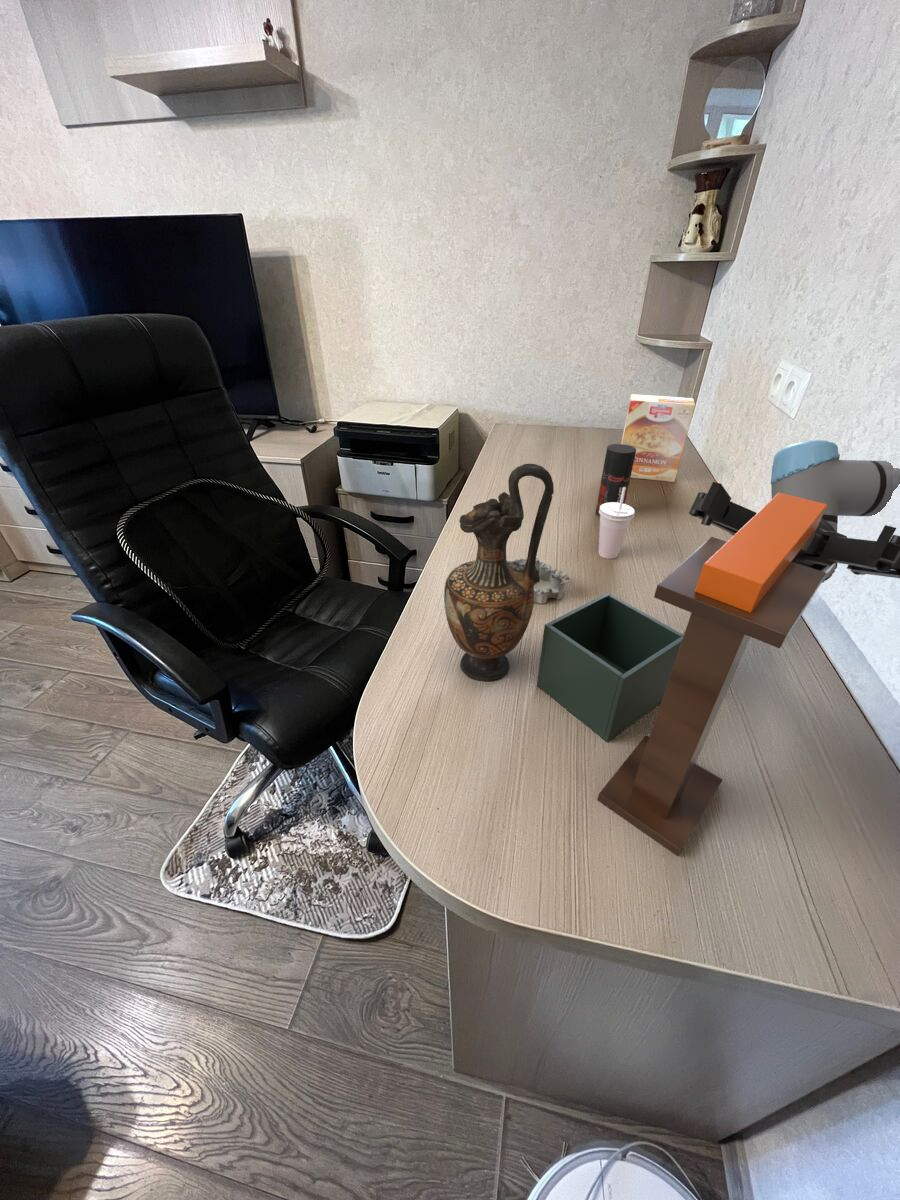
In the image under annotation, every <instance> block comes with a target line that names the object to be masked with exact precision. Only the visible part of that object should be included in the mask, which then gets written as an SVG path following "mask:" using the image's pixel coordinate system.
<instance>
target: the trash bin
mask: <svg viewBox="0 0 900 1200" xmlns="http://www.w3.org/2000/svg"><path fill="white" fill-rule="evenodd" d="M683 636H684V634H683V633H681V632H680V631H677V630H676V629H674V628H672V627H671V626H669V625H666V624H665V623H663V622H661V621H660V620H658V619H656V618H655V617H653V616H651V615H649V614H647V613H645V612H643V611H642V610H640V609H638V608H637V607H635V606H633V605H631V604H629V603H627V602H625V601H624V600H622V599H620V598H618V597H617V596H615V595H613V594H611V592H606V593H604V594H602V595H599V596H598V597H596V598H594V599H592V600H590V601H588V602H586V603H584V604H582V605H580V606H578V607H576V608H574V609H572V610H570V611H568V612H567V613H565V614H563V615H560V616H559V617H557V618H555V619H553V620H550V621H549V622H547V623H545V624H544V626H543V635H542V642H541V648H540V649H541V650H540V657H539V664H538V672H537V679H536V680H537V681H536V686H537V687H538V688H539V689H541V691H543V692H544V693H546V694H547V696H549V697H550V698H552V699H553V700H554V701H555V702H557V703H558V704H559V705H560V706H561V707H562V708H564V709H565V710H566V711H567V712H569V713H570V714H571V715H573V716H574V717H575V718H576V719H578V720H579V721H580V722H581V723H582V724H584V725H585V726H586V727H587V728H589V729H590V730H591V731H593V732H594V733H595V734H596V735H598V737H600V738H601V739H602V740H604V741H605V742H606V743H609V742H610V741H611V740H613V739H614V738H616V737H617V736H619V735H620V734H621V733H623V732H624V731H625V730H626V729H628V728H629V727H630V726H632V725H633V724H635V723H636V722H637V721H638V720H641V718H643V717H645V715H647V714H648V713H650V712H652V710H654V709H655V708H656V707H658V706H660V704H661V701H662V698H663V695H664V692H665V689H666V686H667V684H668V681H669V678H670V675H671V672H672V669H673V666H674V663H675V660H676V657H677V654H678V651H679V648H680V645H681V642H682V639H683Z"/></svg>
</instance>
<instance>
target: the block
mask: <svg viewBox="0 0 900 1200" xmlns="http://www.w3.org/2000/svg"><path fill="white" fill-rule="evenodd" d="M826 507H827V504H824V503H820V502H816V501H811V500H807V499H803V498H799V497H795V496H791V495H787V494H783V493H778V494H777V495H776V496H775V497H774V498H773V499H772V498H771V499H770V501H768V502H767V503H766V504H765V505H764V506H763V507H762V508H761V509H760V510H759V511H757V512H756V513H757V514H756V515H755V516H754V517H753V518H752V519H751V520H750V521H749V522H747V523H746V524H745V525H744V526H743V527H742V528H741V529H740V530H739V531H738V532H737V533H736V534H735V535H734V536H733V535H732V536H731V538H729V539H728V540H727V542H726V543H725V544H724V545H723V546H722V547H721V548H720V549H719V550H718V551H717V552H716V553H715V554H714V555H713V556H712V557H711V558H710V559H709V560H708V561H707V562H705V563H704V565H703V568H702V571H701V574H700V577H699V580H698V583H697V586H696V589H695V592H697V593H700V594H702V595H705V596H707V597H710V598H713V599H715V600H718V601H720V602H723V603H726V604H728V605H731V606H734V607H736V608H739V609H741V610H744V611H747V612H749V613H751V612H752V611H753V610H754V609H755V607H756V606H757V605H758V604H759V602H760V601H761V600H762V598H763V597H764V596H765V595H766V593H767V592H768V591H769V589H770V588H771V587H772V586H773V584H774V583H775V582H776V580H777V579H778V578H779V577H780V575H781V574H782V573H783V571H784V570H785V569H786V568H787V566H788V565H789V564H790V562H791V561H792V560H793V559H794V557H795V556H796V555H797V553H798V552H799V551H800V550H801V548H802V547H803V546H804V544H805V543H806V542H807V541H808V539H809V538H810V537H811V535H812V534H813V533H814V532H815V530H816V529H817V527H818V525H819V523H820V520H821V518H822V516H823V514H824V512H825V509H826Z"/></svg>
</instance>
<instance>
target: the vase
mask: <svg viewBox="0 0 900 1200" xmlns="http://www.w3.org/2000/svg"><path fill="white" fill-rule="evenodd" d="M524 477H533V478H536V479H538V480H540V481H542V483H543V485H544V490H543V493H542V497H541V499H540V502H539V505H538V508H537V512H536V514H535V515H536V516H535V519H534V523H533V527H532V531H531V535H530V541H529V545H528V549H527V550H528V551H527V557H526V558H527V562H526V565H525V568H524V570H523V569H521V568H520V567H518V566H516V565H515V564H512V563H509V562H507V561H508V559H507V544H508V540H509V538H510V536H511V535H512V534H513V532H517V531H518V530H519V529H520V528H521V527H522V524H523V520H524V517H525V515H524V514H525V513H524V507H523V502H522V498H521V494H520V487H519V484H520V483H519V482H520V480H521V479H522V478H524ZM507 483H508V493H507V492H506V491H503V492H501V493H500V494H499V495H498V496H497V499H496V498H489V499H488V500H487V501H485V502H480V503H477V504H475V505H473V506H472V508H473V509H472V510H471V511H469V512H467V513H466V514H461V516H460V517H459V519H458V520H459V527H460V530H461V531H462V532H463V533H466V534H472V533H473V535H474V536H475V539H476V541H477V550H476V558H475V560H470V561H467V562H464V563H461V564H460V565H458V566H457V567H455V568H454V569H452V570H451V571H450V572H449V574H448V575H447V578H446V580H445V582H444V583H445V584H444V591H443V592H444V593H443V595H444V596H443V599H444V600H443V601H444V612H445V616H446V617H445V618H446V622H447V624H448V628H449V631H450V633H451V636H452V638H453V640H454V641H455V643H456V644H457V646H458V647H459V648H460V649H461V650H462V651H463V652H464V654H463V655H462V657H461V659H460V662H459V664H460V665H459V666H460V670H461V671H462V672H463V674H464V675H465V676H466V677H468V678H470V679H472V680H475V681H480V682H491V681H495V680H499V679H502V678H503V677H504V676H505V675H507V673H508V672H509V671H510V667H511V665H510V660H509V658H508V657H507V654H508V653H510V652H511V651H513V650H514V649H515V648H516V647H517V646H518V644H519V643H520V642H521V640H522V638H523V637H524V635H525V634H526V631H527V629H528V626H529V623H530V620H531V617H532V615H533V609H534V604H535V602H534V584H535V583H537V582H539V581H540V575H539V572H538V571H537V569H536V565H535V564H536V558H537V555H538V551H539V547H540V542H541V538H542V535H543V532H544V528H545V525H546V520H547V517H548V514H549V511H550V510H549V509H550V507H551V504H552V502H553V501H552V500H553V495H554V493H555V489H554V488H555V487H554V481H553V477H552V474H551V473H550V472H549V471H548V470H547V469H546V468H545V467H544V466H542V465H539V464H536V463H523V464H521V465H519V466H516V467H515V468H514V469H512V471H511V472H510V474H509V477H508V482H507Z"/></svg>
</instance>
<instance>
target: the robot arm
mask: <svg viewBox="0 0 900 1200" xmlns="http://www.w3.org/2000/svg"><path fill="white" fill-rule="evenodd" d="M840 457H841V454H840V453H839V447H838V444H836V443H835V442H833V441H828V440H825V439H823V440H822V439H820V440H819V439H817V440H806V441H800V442H796V443H792V444H790V445H787V446H785V447H783V448H781V449H780V450H778V451H777V452H775V455H774V457H773V460H772V466H771V467H772V468H771V475H770V476H771V477H770V485H771V487H770V491H771V500H772V499H773V498H774V497H775V496H776V495H777V494H778V493H783V494H787V495H791V496H795V497H799V498H803V499H807V500H811V501H816V502H820V503H824V504H827V507H826V509H825V512H824V514H823V516H822V518H821V520H820V523H819V525H818V527H817V529H816V530H815V532H814V533H813V534H812V535H811V537H810V538H809V539H808V541H807V542H806V543H805V544H804V546H803V547H802V548H801V550H800V551H799V552H798V553H797V555H796V556H795V557H794V559H793V560H792V561H791V562H794V563H797V564H800V565H803V566H806V567H810V568H813V569H816V570H819V571H822V572H826V575H825V577H824V579H823V581H822V583H821V584H823V583H825V581H828V580H830V578H831V577H832V576H833V574H834V573H835V572H836V570H837V568H838V564H842V565H847V566H846V570H849V571H850V572H851V573H853V575H857V576H860V575H861V576H864V575H872V576H877V577H878V576H879V577H884V578H885V577H886V578H894V579H900V535H897V534H895V532H896V530H897V527H895V526H890V525H887V524H885V525H884V526H883V528H882V530H881V531H880V534H879V536H878V537H877V539H876V540H870V539H861V538H854V537H848V536H847V535H845V534H842V533H840V532H838V522H839V517H869V516H872V515H875V514H877V513H878V512H880V511H881V510H882V509H883V508H884V507H885V506H886V504H887V502H889V500H890V499H891V496H892V493H893V491H894V490H895V489H896V488H897V487H898V485H899V484H900V469H899V468H893V466H892V465H891V463H889V462H887V461H888V460H868V459H867V460H865V459H840ZM757 513H758V512H756V511H754V510H751V509H750V508H747V507H745V506H742V505H740V504H737V503H735V502H733V501H732V497H731V496H730V494H729V492H728V491H727V490H726V489H725V487H724V486H723V484H722V483H721V482H716V481H712V483H711V485H710V487H709V489H708V491H707V492H704V491H703V492H701V491H700V492H698V493H697V495H696V496H695V499H694V501H693V503H692V506H691V507H690V509H689V512H688V514H689V515H691V517H694V518H698V519H700V520H701V522H700V524H701V525H703V526H708V527H710V526H711V525H712V526H715V527H716V528H720V529H721V530H723V531H725V532H727V533H728V534H730V535H731V536H732V537H733V536H734V535H735V534H736V533H737V532H738V531H739V530H740V529H741V528H742V527H743V526H744V525H745V524H746V523H747V522H749V521H750V520H751V519H752V518H753V517H754V516H755V515H756V514H757Z"/></svg>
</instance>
